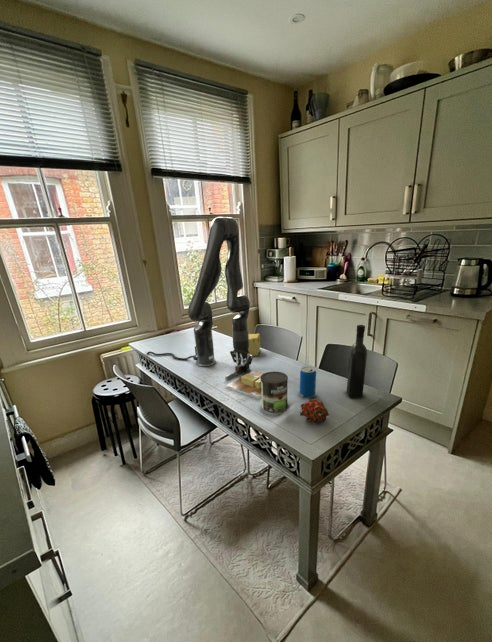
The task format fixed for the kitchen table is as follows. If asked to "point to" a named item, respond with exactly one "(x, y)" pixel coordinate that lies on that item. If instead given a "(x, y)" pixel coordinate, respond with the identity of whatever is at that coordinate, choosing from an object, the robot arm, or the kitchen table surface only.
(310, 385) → the beverage can
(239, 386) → the board
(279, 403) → the coffee can
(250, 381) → the butter
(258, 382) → the butter slice
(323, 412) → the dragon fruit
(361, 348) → the wine bottle
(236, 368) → the knife
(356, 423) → the kitchen table surface
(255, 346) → the cheese
